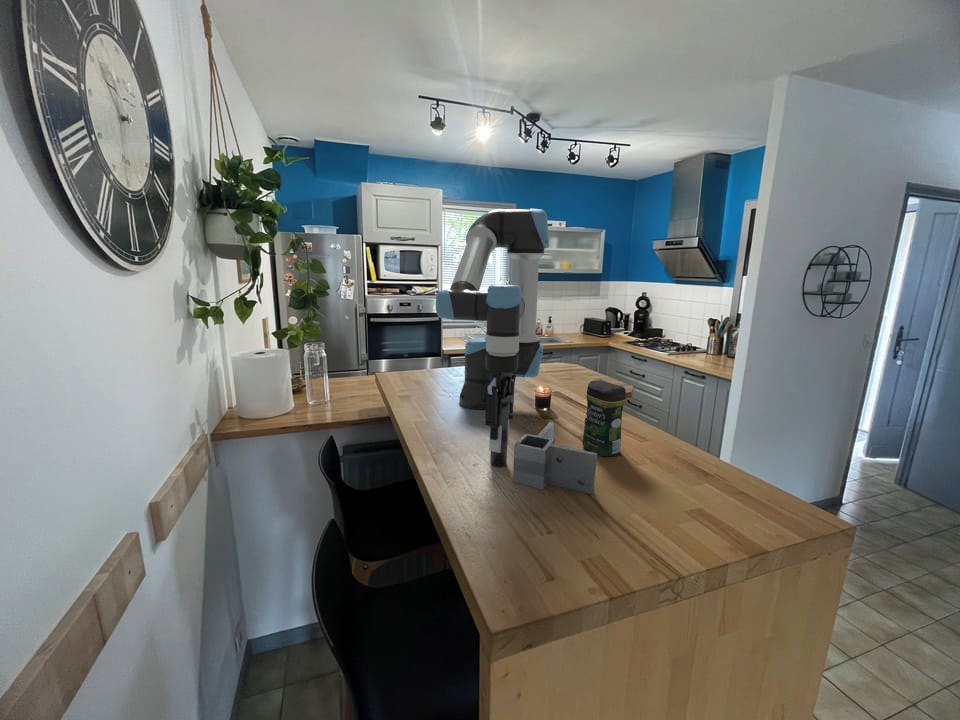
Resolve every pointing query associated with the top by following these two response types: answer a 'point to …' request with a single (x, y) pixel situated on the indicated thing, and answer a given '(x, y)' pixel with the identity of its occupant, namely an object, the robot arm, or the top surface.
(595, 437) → the coffee jar
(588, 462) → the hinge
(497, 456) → the pin
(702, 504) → the top surface
